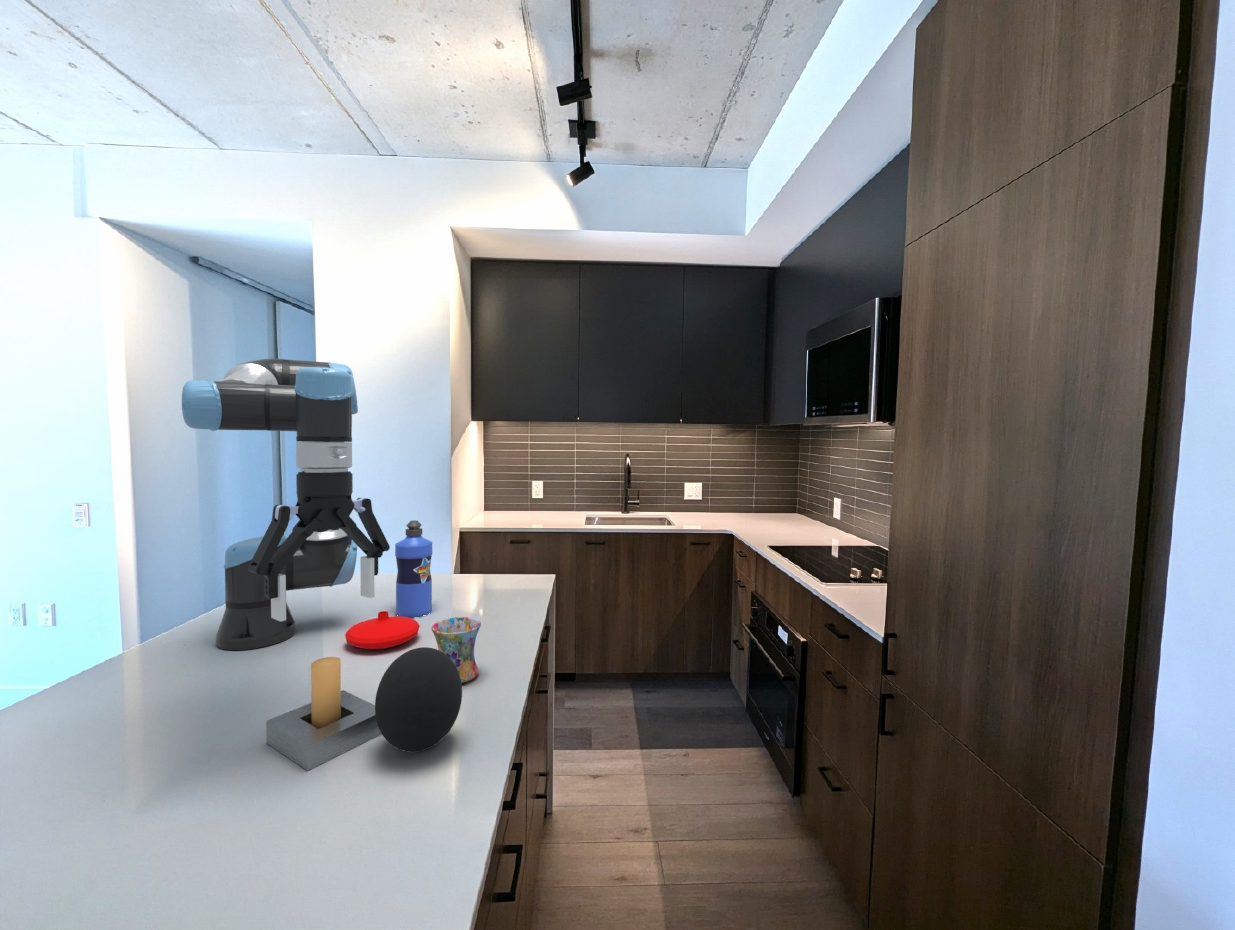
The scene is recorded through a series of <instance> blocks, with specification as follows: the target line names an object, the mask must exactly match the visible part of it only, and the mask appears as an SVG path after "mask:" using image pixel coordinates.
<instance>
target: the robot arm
mask: <svg viewBox="0 0 1235 930" xmlns="http://www.w3.org/2000/svg"><path fill="white" fill-rule="evenodd" d="M181 390H182V391H181V411H182V416H183V420H184V421H183V422H184V423H185V425H186V426H188V427H189V428H190V429H194V430H195V429H197V430H210V431H213V432H215V431H218V430H219V431H269V432H296V438H295V439H296V441H295V454H296V456H295V461H296V463H295V464H296V465H295V467H296V468H297V469H300V471H298V472H297V474H296V475H295V476H296V478H295V480H296V498H297V501H296V504H295V506H293V505H284V504H283V505H282V504H275V505H274V506H273V508H272V515H271V521H270V523H269V526H268V527H267V529H266V531H265V533H264V535H263V536H258V537H253V538H248V539H244V540H241V541H237V542H235V543H233V544H231V545H228V547H227V548H226V550H225V553H224V554H225V555H224V565H223V569H224V583H225V585H224V586H225V588H224V590H225V594H224V595H225V596H224V600H225V610H224V613H223V616H222V618H221V621H220V624H219V626H218V629H217V632H216V636H215V639H216V640H215V641H216V644H215V645H216V647H217V648H219V649H222V650H225V651H226V650H227V651H245V650H246V651H247V650H252V649H259V648H264V647H268V646H271V645H272V646H273V645H275V644H279V643H281V642H284V641H286V640H288V639H290V638H292V637H293V636H294V635H295V633H296V621H295V620H294V619H295V618H294V616H293V614H292V611H291V609H290V608H289V604H288V602H287V592H288V591H296V590H303V589H306V590H307V589H313V588H315V589H316V588H324V587H325V588H326V587H330V588H331V587H334V586H338V585H339V586H340V585H345V584H348V583H350V581H351V580H352V579H353V577H354V574H355V570H356V564H357V555H358V552H357V551H358V548H359V549H360V550H361V551H362V552H363V553H364V554H365V555H363V556H360V557H359V559H360V563H359V564H360V567H359V569H360V596H362V597H365V598H369V599H373V598H375V576H378V575H379V559H380V558H382V556H383V554H384V552H388V551H389V550H390V547H391V546H390V544H389V542H388V540H387V537H386V536H385V534H384V532H383V530H382V528H381V526H380V524H379V522H378V519H377V518H376V516H375V513H374V512H373V506H372V503H373V502H372V500H371V499H370V498H367V497H366V498H365V497H357V498H356V499H355V500H353V499H352V494H353V486H354V485H353V476H354V475H353V473H352V472H351V471H349V469H350V468H352V467H353V434H352V431H353V428H352V427H353V415H356V414H358V412H359V408H358V407H359V406H358V397H357V389H356V383H355V378H354V374H353V370H352V369H351V367H350V366H348V365H346V364H343V363H335V362H330V361H328V362H327V361H326V362H325V361H314V360H313V361H312V360H311V361H310V360H298V359H284V358H264V359H263V358H261V359H257V360H256V359H255V360H250V361H247V362H242V363H239V364H236V365H235V366H232V367H231V368H230V369H229V370H228V371H227V372H226V373H225V374H224V376H223V378H222V379H221V380H220V381H219V380H218V381H217V380H211V379H205V380H196V379H195V380H192V379H191V380H188V381H186V382H185V383H184V385H183V387H182V389H181ZM353 511H355V512H356V513H357V516H358V517H359V519H360V521H361V524H362V525H363V527H364V529H365V532H366V533H367V535H368V536H366V535H365V533H364V532H363V531H362V530H361V529H360V528H359V527H358V526H357V522H355V521H354V520H353V518H351V517H350V515H351V514H352V512H353ZM294 516H296V517H297V518H298V521H297V523H296V524H295V525H294V526H293V527H292V531H291V533H290V534H289V535H288V536H287V538H286V536H285V535H284V534H285V532H286V530H287V528H288V527H289V523H290V521H291V520H293V518H294ZM368 537H369V538H368Z"/></svg>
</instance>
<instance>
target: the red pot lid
mask: <svg viewBox="0 0 1235 930" xmlns="http://www.w3.org/2000/svg"><path fill="white" fill-rule="evenodd" d="M389 613H390V612H389V611H387V610H382V611H379V612H378V613H377V617H376V618H375V617H374V618H370V619H366V620H363V621H360V622H358V623H356V624H353V625H352V626H351V627H349V628H348V629H347V631H346V632H345V634H344V637H345V640H346V642H347V643H348V644H349V645H350V646H354V647H356V648H359V649H365V650H383V649H389V648H393V647H397V646H400V645H403V644H404V643H407V641H410V640H411V639H413V638H414V637H416V636H417V635H418V633H419V631H420V627H421V626H420V624H419V622H418V621H417V620H416V619H415V618H408V617H401V616H393V615H392V616H390V615H389Z"/></svg>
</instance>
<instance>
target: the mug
mask: <svg viewBox="0 0 1235 930" xmlns="http://www.w3.org/2000/svg"><path fill="white" fill-rule="evenodd" d="M481 625H482V622H481V621H480V619H478V618H474V617H468V616H467V617H466V616H456V617H448V618H443V619H441V620H439V621H436V622H435V623H433V624H432V626H431V631H432V634H433V635H434V637H435V641H436V644H437V650H439V651H441V652H443V653H444V654H446V655H447V656H448V657H449V658H450V659H451V660H452V661H453V663H454V664H455V666H456V668H457V670H458V672H459V675H460V678H461V684H464V683H467V682H469V681H471V680H473V679H475V678H476V677H477V676H478V674H479V667H478V665H477V663H476V658H475V646H476V645H475V644H476V640H477V639H476V638H477V636H478V633H479V630H480V628H481Z"/></svg>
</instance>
